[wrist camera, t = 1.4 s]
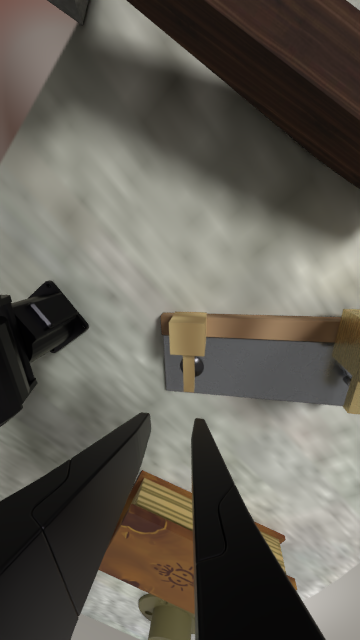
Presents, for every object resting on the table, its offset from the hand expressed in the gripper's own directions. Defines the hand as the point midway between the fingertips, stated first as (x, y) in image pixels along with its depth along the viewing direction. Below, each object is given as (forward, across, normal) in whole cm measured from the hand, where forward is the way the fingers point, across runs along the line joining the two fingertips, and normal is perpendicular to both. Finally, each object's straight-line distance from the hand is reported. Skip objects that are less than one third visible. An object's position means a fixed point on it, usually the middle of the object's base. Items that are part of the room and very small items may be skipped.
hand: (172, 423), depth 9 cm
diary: (+14, -1, -37) cm, 39 cm away
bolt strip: (+13, +10, -5) cm, 17 cm away
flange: (+14, -5, -67) cm, 69 cm away
